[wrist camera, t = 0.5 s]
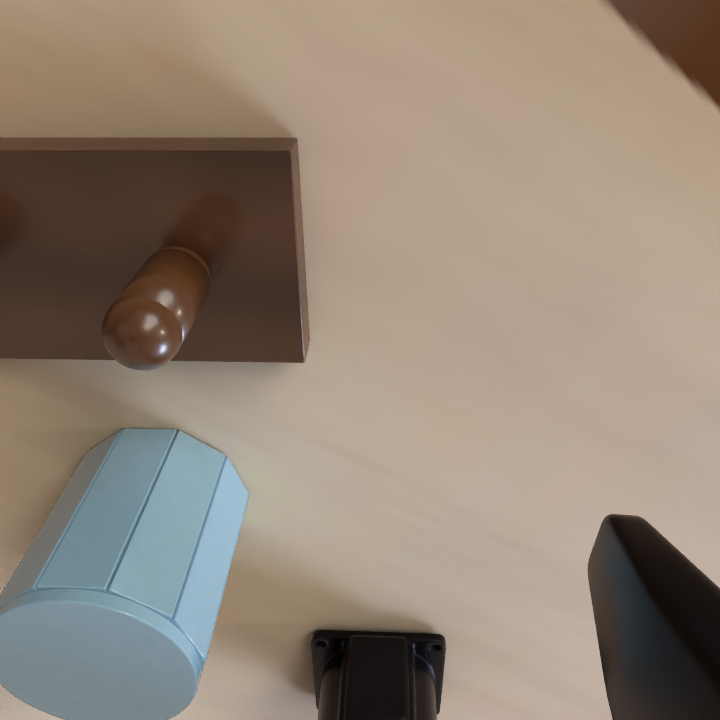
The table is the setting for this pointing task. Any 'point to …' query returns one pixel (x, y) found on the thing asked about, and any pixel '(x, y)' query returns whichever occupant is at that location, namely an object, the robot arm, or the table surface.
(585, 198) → the table surface
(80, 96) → the table surface
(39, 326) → the rack
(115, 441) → the cup
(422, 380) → the table surface
